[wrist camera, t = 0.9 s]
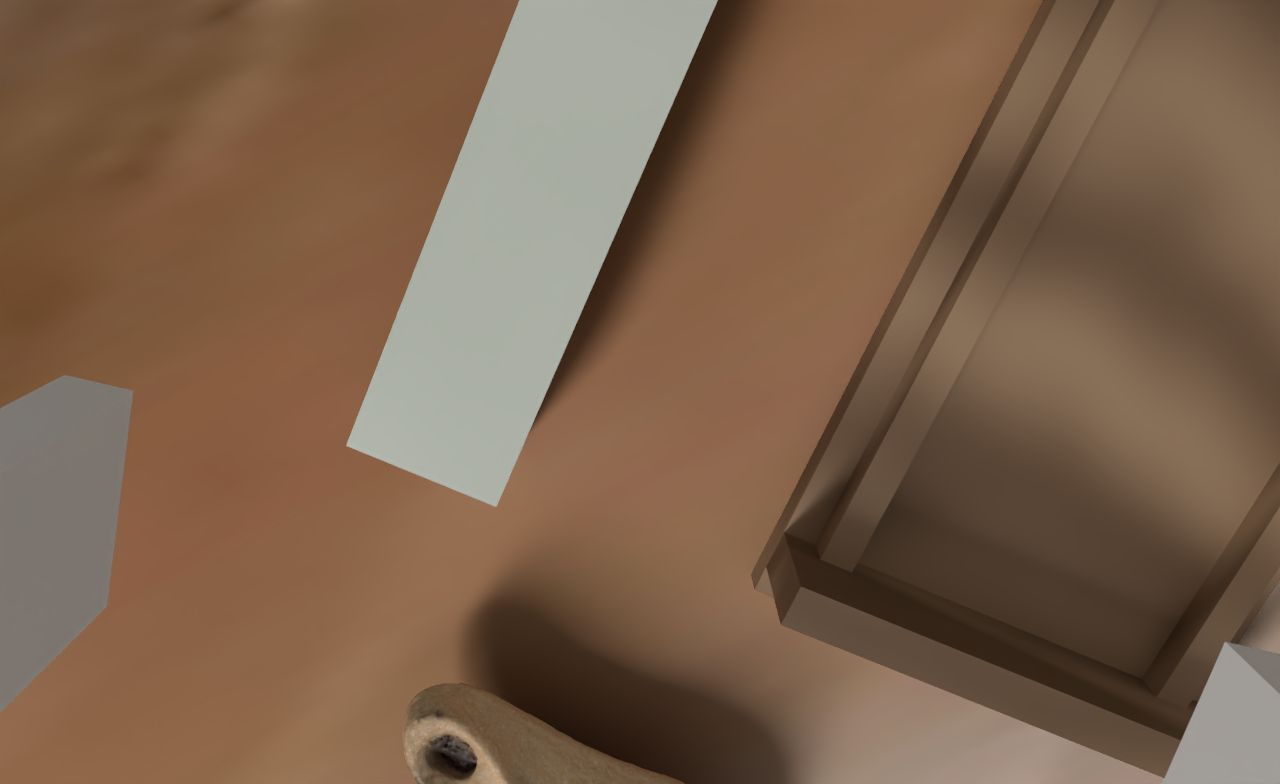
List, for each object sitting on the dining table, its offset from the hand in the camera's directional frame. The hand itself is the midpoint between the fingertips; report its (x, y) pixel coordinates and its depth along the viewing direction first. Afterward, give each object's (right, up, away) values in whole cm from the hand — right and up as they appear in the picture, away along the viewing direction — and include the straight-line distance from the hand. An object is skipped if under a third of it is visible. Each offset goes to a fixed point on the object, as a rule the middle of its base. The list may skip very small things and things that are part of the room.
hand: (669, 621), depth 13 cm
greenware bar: (-2, +9, +17) cm, 19 cm away
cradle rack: (+14, +5, +18) cm, 23 cm away
